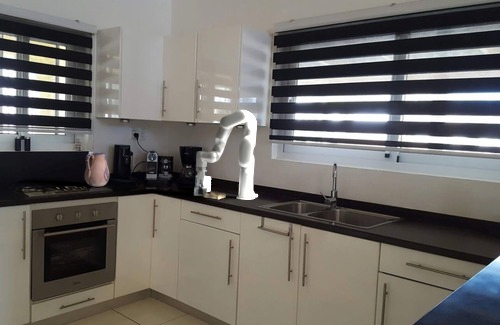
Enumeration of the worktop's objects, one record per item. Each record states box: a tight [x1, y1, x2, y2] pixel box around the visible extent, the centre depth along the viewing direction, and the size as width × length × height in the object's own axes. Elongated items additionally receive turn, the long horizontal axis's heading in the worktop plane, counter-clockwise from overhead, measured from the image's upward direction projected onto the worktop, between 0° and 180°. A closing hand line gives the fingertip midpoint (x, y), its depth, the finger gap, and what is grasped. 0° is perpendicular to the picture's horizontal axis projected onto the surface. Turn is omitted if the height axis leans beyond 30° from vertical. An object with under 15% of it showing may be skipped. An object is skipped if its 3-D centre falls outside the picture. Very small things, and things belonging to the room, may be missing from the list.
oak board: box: [203, 191, 227, 200], centre depth 282 cm, size 11×10×2 cm
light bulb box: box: [194, 175, 212, 192], centre depth 307 cm, size 11×7×11 cm, turn 45°
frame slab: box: [193, 186, 209, 197], centre depth 287 cm, size 9×4×6 cm, turn 93°
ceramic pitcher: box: [84, 151, 110, 188], centre depth 307 cm, size 18×21×25 cm
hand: (200, 193), depth 287 cm, fingers open, 9 cm apart
